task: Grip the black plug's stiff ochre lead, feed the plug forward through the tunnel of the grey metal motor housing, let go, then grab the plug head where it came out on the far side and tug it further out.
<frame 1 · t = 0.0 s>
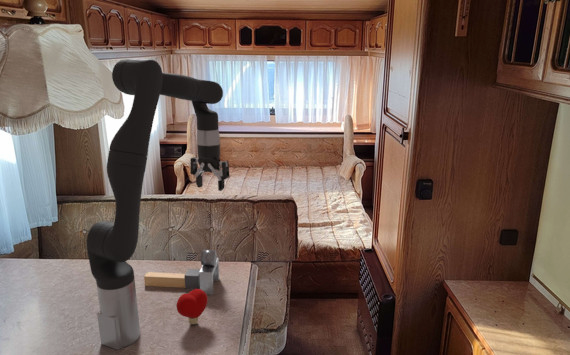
hand: (210, 188, 147), 29 cm above the table, tool pointing down, fingers open, 8 cm apart
housing: (210, 286, 141), on the table
red heart ornament: (193, 324, 122), on the table
plug: (193, 285, 141), on the table
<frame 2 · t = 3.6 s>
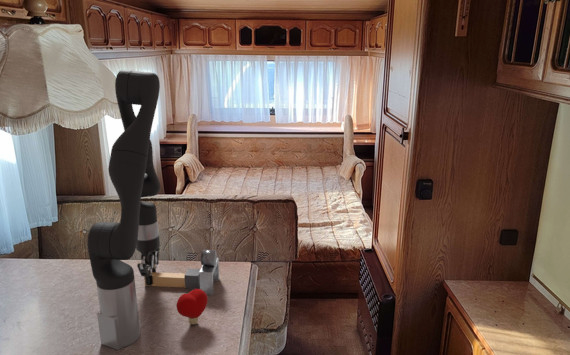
hand: (151, 281, 142), 1 cm above the table, tool pointing down, fingers closed on plug, 2 cm apart
plug: (194, 285, 141), on the table, touching gripper
everything else where it was.
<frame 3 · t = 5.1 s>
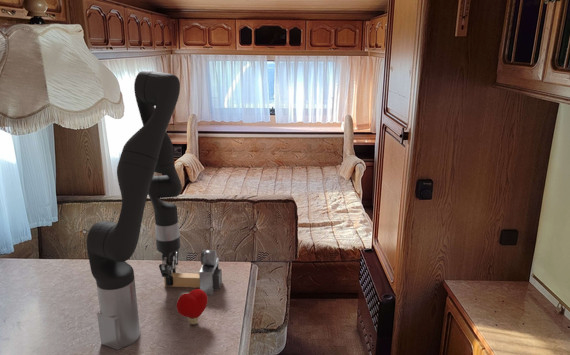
hand: (171, 282, 142), 1 cm above the table, tool pointing down, fingers closed on plug, 2 cm apart
plug: (214, 285, 141), on the table, touching gripper
everything else where it was.
when the fingers open (1 cm above the table, at t = 7.0 s): plug stays where it is, on the table.
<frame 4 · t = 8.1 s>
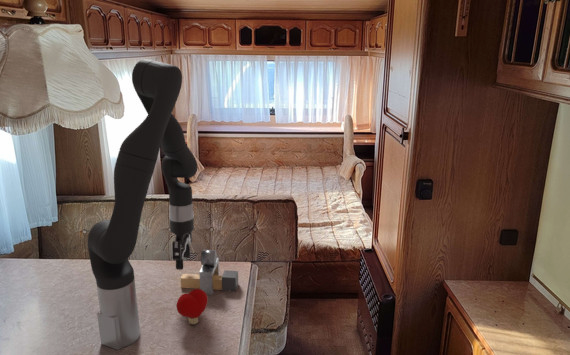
hand: (183, 262, 139), 8 cm above the table, tool pointing down, fingers open, 8 cm apart
plug: (230, 287, 140), on the table
everything else where it was.
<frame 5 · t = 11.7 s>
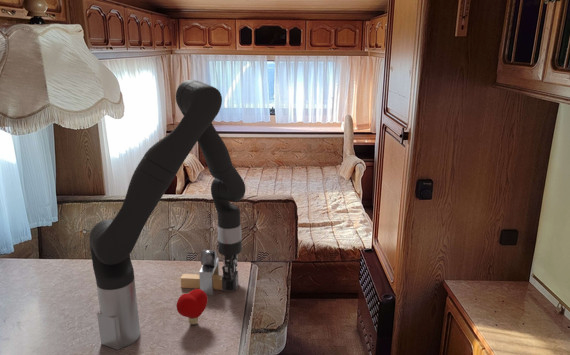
hand: (231, 285, 140), 1 cm above the table, tool pointing down, fingers closed on plug, 4 cm apart
plug: (230, 287, 141), on the table, touching gripper
everything else where it was.
when the fingers open (1 cm above the table, at t = 13.7 s): plug stays where it is, on the table.
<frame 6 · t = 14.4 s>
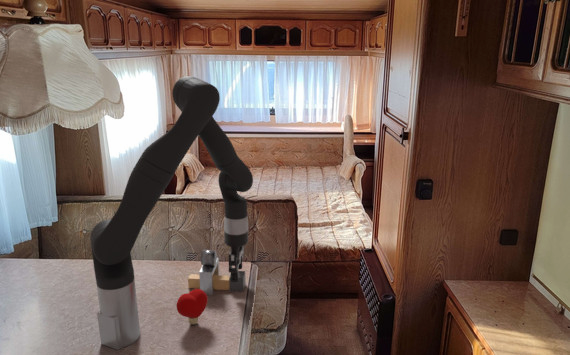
hand: (236, 274, 139), 5 cm above the table, tool pointing down, fingers open, 8 cm apart
plug: (237, 287, 140), on the table
everything else where it was.
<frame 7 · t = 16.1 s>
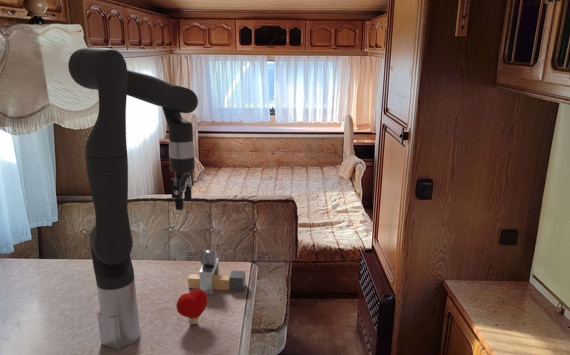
hand: (183, 205, 134), 28 cm above the table, tool pointing down, fingers open, 8 cm apart
nothing on the table moved.
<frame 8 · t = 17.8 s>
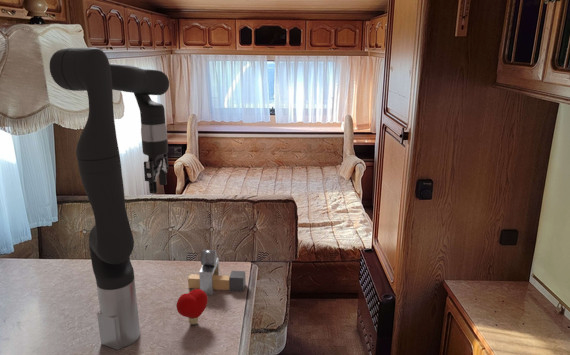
hand: (158, 188, 134), 33 cm above the table, tool pointing down, fingers open, 8 cm apart
nothing on the table moved.
at the end: plug inside the target area (0.5 cm from its centre), on the table; plug moved 14.7 cm from its start; the gripper is holding nothing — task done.
